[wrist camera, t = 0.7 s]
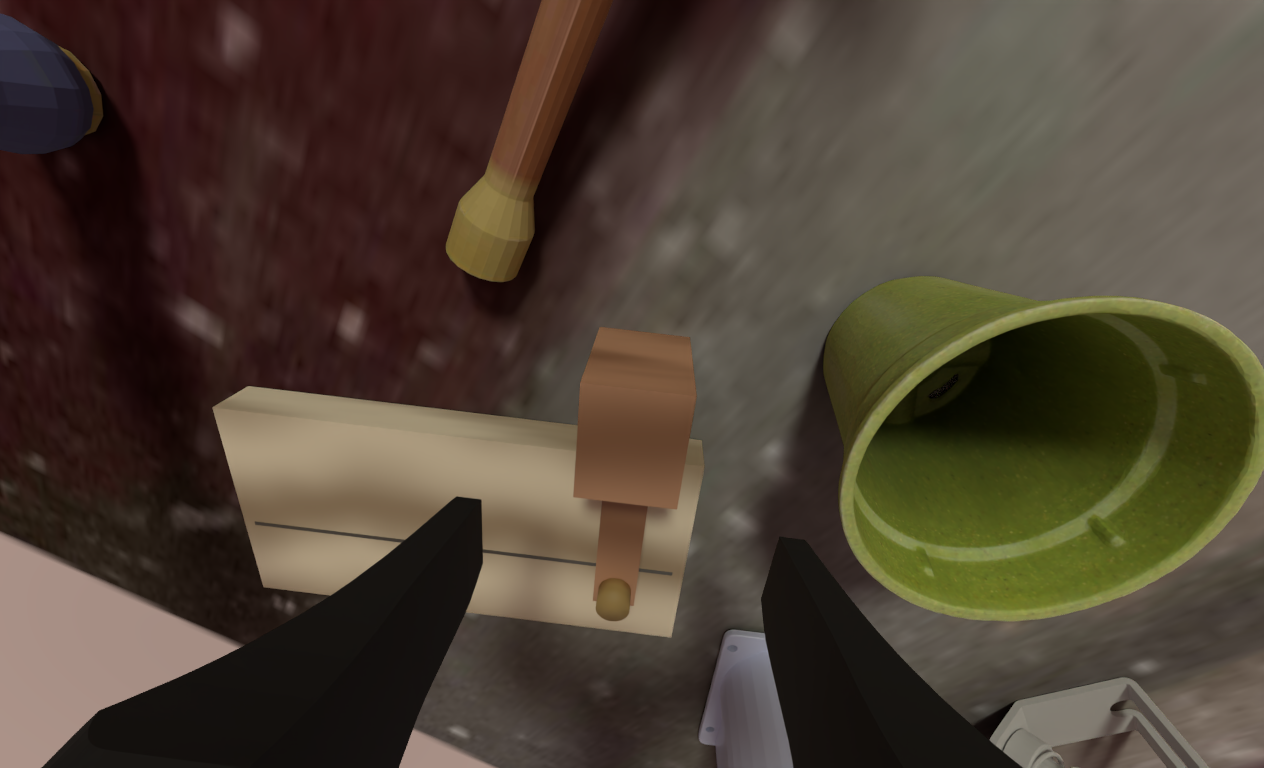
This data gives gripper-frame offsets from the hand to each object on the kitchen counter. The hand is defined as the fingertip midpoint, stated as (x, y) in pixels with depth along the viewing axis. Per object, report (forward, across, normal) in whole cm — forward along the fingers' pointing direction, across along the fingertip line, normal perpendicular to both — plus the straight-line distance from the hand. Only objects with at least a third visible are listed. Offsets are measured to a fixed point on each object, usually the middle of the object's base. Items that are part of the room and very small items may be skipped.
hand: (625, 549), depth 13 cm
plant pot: (+10, -10, -2) cm, 14 cm away
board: (+10, +7, +8) cm, 14 cm away
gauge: (+10, 0, +4) cm, 11 cm away
